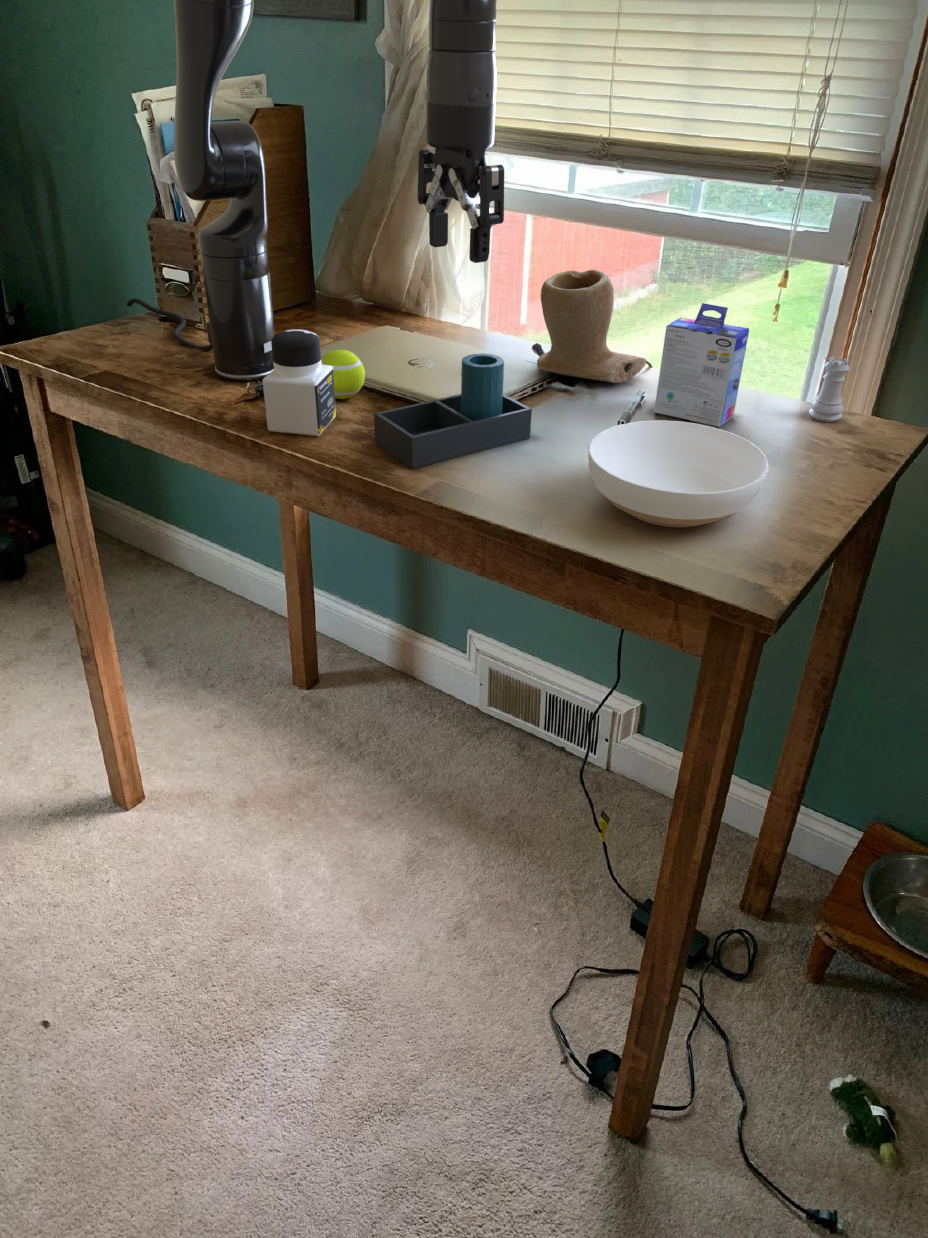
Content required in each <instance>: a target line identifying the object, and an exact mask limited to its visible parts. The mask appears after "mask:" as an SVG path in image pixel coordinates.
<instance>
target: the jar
mask: <svg viewBox="0 0 928 1238" xmlns="http://www.w3.org/2000/svg"><path fill="white" fill-rule="evenodd" d="M504 370H505V360H504V358H502V357H501V356H499V355H497V354H492V353H471V354H468V355H466V356H463V357H462V358H461V376H460V377H461V379H460V380H461V382H460V384H461V385H460V394H461V414H462V415H464V416H465V417H467V418H469V419H470V420H472V421H476V420H480V419H485V418H489V417H493V416H497V415H501V414H502V402H503V394H504V376H505V375H504V372H505V371H504Z"/></svg>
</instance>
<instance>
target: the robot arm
mask: <svg viewBox="0 0 928 1238" xmlns="http://www.w3.org/2000/svg"><path fill="white" fill-rule="evenodd" d="M497 1H498V0H429V9H428V10H429V11H428V21H429V22H428V48H429V49H428V60H427V66H426V143H427V144H428V146H430V147H431V148H426V149H419V151H418V163H417V164H418V165H417V167H418V168H417V202H418V204H419V205H424V206H425V211H426V212H427V213H428V230H429V231H428V237H429V240H428V241H429V245H430V247H433V248H442V247H443V248H444V247H446V246H447V245H448V241H449V213H448V212H446V211H448V210H449V207H450V205H451V203H452V201H453V200H455V201H457V202H459V205H460V207H461V209H462V210H463V212H464V211H465V212H466V215H467V218H468V221H469V224H470V226H471V227H470V228H469V255H468V256H469V261H470V262H472V263H474V264H478V263H479V264H480V263H485V262H487V261H488V260H489V256H490V248H491V247H490V246H491V244H490V243H491V229H492V228H493V227H494V226H496V225H500V224H503V223H504V219H505V218H504V217H505V167H504V165H503V164H494V165H493V164H492V165H488V164H487V160H486V152H487V150H488V149H490V148H492V147H493V146H494V144H495V129H496V128H495V126H496V99H497V98H496V96H497V65H496V64H497V63H496V37H497V3H498V2H497ZM254 4H255V0H173V5H174V6H173V8H174V9H173V10H174V22H175V23H174V26H175V49H176V51H175V52H176V56H175V57H176V77H175V78H176V82H175V105H174V127H173V129H174V130H173V131H174V132H173V154H174V155H173V156H174V166H175V172H176V177H177V180H178V183H179V185H180V188H181V190H182V192H183V193H184V194H185V196H187V198H189V199H191V200H193V201H195V202H196V201H197V202H208V201H219V200H228V199H229V203H228V206H227V208H226V209H225V211H224V212H222V214H221V215H219V216H218V217H216V219H214V220H212V221H211V222H209V223H208V224H206V225H203V226H202V227H201V229H199V231H198V235H197V241H198V247H199V249H198V250H199V255H200V261H201V269H202V275H203V276H202V277H203V283H204V290H205V300H206V306H207V307H206V308H207V313H208V320H209V321H207V322H205V325H206V326H205V327H206V332H207V339H208V343H209V344H208V345H199V344H195V343H192V342H191V341H188V340H187V339H186V338H184V337H182V336H181V335H179V333H180V332H181V331H183V329H185V327H186V325H187V321H186V319H185V318H184V317H183V316H182V315H180V314H178V313H175V312H171V311H168V310H163V309H160V308H156V307H154V306H152V305H151V304H149V303H147V302H146V301H144V300H142V299H140V298H138V297H132V298H130V299H128V301H127V302H126V307H132V306H133V304H137V305H140V306H141V307H143V308H144V309H146V310H149V311H150V312H151V313H155V314H158V315H160V316H164V317H169V318H172V319H175V320H177V321H179V322H180V323H179V324H178V325H177V326H176V327H175V328H174V330H173V331H172V337H173V338H174V340H175V341H177V342H178V343H180V344H181V345H183V346H185V347H188V348H191V349H196V350H200V351H204V352H205V351H206V352H210V351H213V352H212V354H213V359H214V372H215V374H216V375H217V376H218V377H220V378H222V379H225V380H231V381H239V382H241V381H242V382H243V381H245V382H246V381H247V382H248V381H256V380H263V379H264V378H265V377H266V376H267V375H268V374H269V373H270V372H271V371H273V370H274V369H275V368H274V364H273V354H272V344H271V339H272V338H273V336H274V335H276V334H277V333H276V325H275V315H274V306H273V305H274V304H273V293H272V283H271V274H270V273H271V272H270V263H269V255H268V254H269V253H268V244H267V236H268V228H269V227H268V226H269V225H268V209H267V208H268V206H267V187H266V185H267V184H266V165H265V158H264V151H263V147H262V143H261V140H260V137H259V135H258V133H257V131H256V130H255V128H254V127H253V125H251V124H250V123H249V122H247V121H244V120H226V121H225V120H224V121H212V119H213V110H214V103H215V99H216V95H217V92H218V89H219V86H220V83H221V81H222V79H223V76H224V75H225V73H226V71H227V69H228V68H229V66H230V64H231V62H232V61H233V59H234V57H235V55H236V54H237V52H238V50H239V48H240V46H241V45H242V43H243V41H244V39H245V37H246V36H247V33H248V31H249V28H250V26H251V23H252V20H253V16H254V6H255V5H254ZM428 184H430V185H429V188H428V190H427V185H428ZM427 191H428V192H427ZM477 196H479V197H477ZM491 202H493V212H492V209H491V206H490V204H491ZM477 210H479V214H478V211H477Z"/></svg>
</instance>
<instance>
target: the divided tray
mask: <svg viewBox="0 0 928 1238" xmlns="http://www.w3.org/2000/svg"><path fill="white" fill-rule="evenodd" d="M532 412H533V410H532V408H531V407H529V406H527V405H525V404H523V403H521V402H520V401H518V400H515V399H514V398H511V397H510V396H508V395H506V394H504V393H503V402H502V414H501V415H497V416H493V417H489V418H485V419H480V420H476V421H472V420H470V419H469V418H467V417H465V416H464V415H462V414H461V393H460V394H453V395H450V396H446V397H442V398H436V399H432V400H428V401H423V402H419V403H415V404H411V405H410V404H409V405H405V406H400V407H397V408H392V409H388V410H383V411H378V412H374V413H373V421H374V422H373V425H374V444H376V445H377V446H379V447H380V448H382V449H383V450H384V451H386V452H387V453H389V454H390V455H391V456H393V457H394V458H396V459H397V460H399V461H400V462H401V463H403V464H405V465H406V466H407V467H409V468H410V469H412V470H414V469H418V468H422V467H427V466H429V465H433V464H437V463H440V462H444V461H445V462H446V461H449V460H452V459H453V460H454V459H456V458H461V457H464V456H468V455H471V454H475V453H480V452H483V451H486V450H487V451H488V450H491V449H494V448H498V447H503V446H507V445H511V444H513V443H518V442H521V441H526V440H529V439H531V433H532V432H531V431H532V415H533V413H532Z"/></svg>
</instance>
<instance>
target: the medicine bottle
mask: <svg viewBox="0 0 928 1238" xmlns="http://www.w3.org/2000/svg"><path fill="white" fill-rule="evenodd" d="M275 334H276V335H274V336H273V338H272V339H271V344H272V354H273V364H274V368H275V369H274V370H273V371H271V372H270V373H269V374H268V375H267V376H266V377H265V378H263V379H262V388H263V399H264V408H265V416H266V425H267V427H266V428H267V430H268V432H272V433H281V434H291V435H292V434H293V435H302V436H311V437H312V436H313V437H319V436H320V435H321V434H322V433H323V432H324V431H325V430H326V429H327V427H328V426H329V425H330V424H331V423H332V421H334V419H335V418H336V417H337V410H336V409H337V408H336V398H335V392H334V376H333V367H332V366H330V365H321V359H322V352H321V351H322V350H321V339H320V336H318V335H317V333H315V332H313V331H310V330H306V329H300V328H299V329H286V330H283V331H280V332H278V333H275Z"/></svg>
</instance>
